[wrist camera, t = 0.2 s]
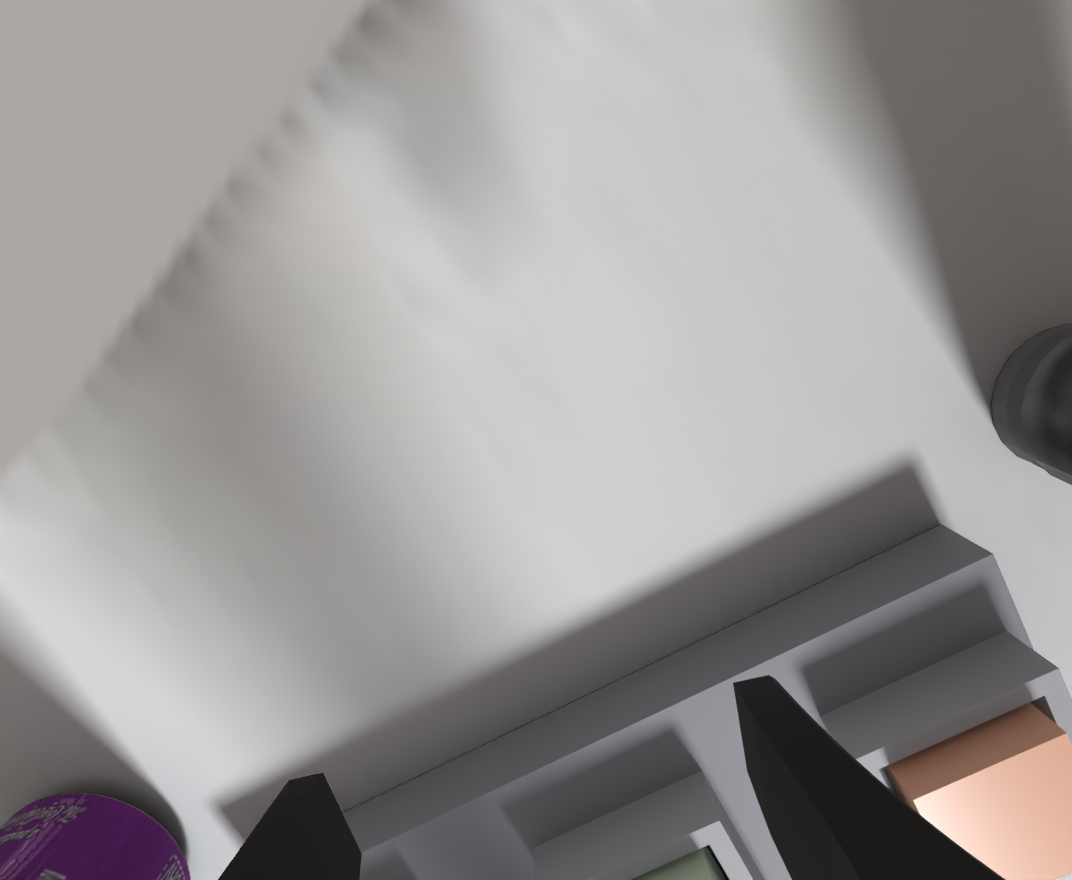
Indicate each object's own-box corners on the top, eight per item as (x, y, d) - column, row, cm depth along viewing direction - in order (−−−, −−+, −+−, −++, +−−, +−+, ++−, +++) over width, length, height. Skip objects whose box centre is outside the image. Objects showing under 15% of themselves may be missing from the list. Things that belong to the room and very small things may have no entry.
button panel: (408, 1056, 26) (381, 1209, 22) (254, 855, 24) (191, 979, 20) (1052, 779, 23) (1171, 891, 19) (941, 524, 21) (1045, 583, 17)
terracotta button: (927, 854, 20) (969, 914, 18) (874, 748, 19) (913, 800, 17) (1059, 797, 19) (1118, 853, 18) (1011, 687, 19) (1067, 733, 17)
